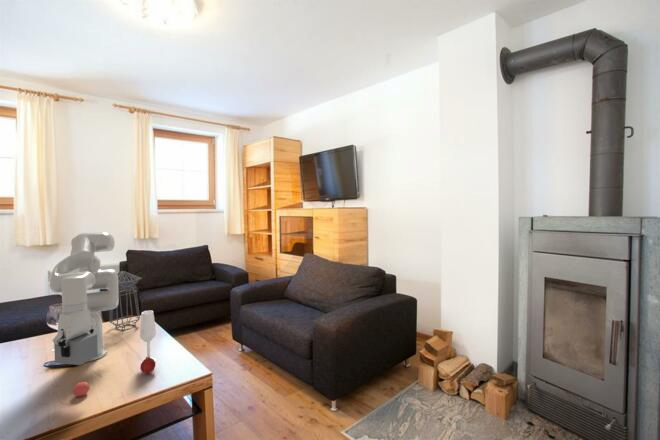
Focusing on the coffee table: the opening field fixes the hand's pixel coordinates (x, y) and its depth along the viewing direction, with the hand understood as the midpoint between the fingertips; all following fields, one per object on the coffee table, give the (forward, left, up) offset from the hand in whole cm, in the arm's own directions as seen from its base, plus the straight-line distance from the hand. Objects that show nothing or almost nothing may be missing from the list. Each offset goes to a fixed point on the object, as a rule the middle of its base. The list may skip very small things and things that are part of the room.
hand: (76, 351), depth 124 cm
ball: (+2, 0, -15) cm, 15 cm away
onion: (+16, +18, -18) cm, 30 cm away
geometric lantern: (-38, +64, -18) cm, 76 cm away
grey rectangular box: (0, 0, -3) cm, 3 cm away
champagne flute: (+8, +28, -18) cm, 34 cm away
